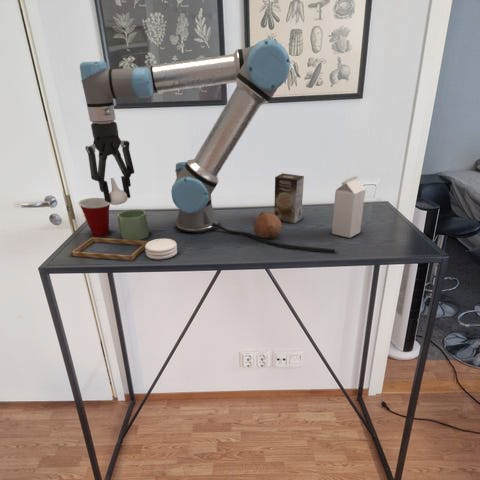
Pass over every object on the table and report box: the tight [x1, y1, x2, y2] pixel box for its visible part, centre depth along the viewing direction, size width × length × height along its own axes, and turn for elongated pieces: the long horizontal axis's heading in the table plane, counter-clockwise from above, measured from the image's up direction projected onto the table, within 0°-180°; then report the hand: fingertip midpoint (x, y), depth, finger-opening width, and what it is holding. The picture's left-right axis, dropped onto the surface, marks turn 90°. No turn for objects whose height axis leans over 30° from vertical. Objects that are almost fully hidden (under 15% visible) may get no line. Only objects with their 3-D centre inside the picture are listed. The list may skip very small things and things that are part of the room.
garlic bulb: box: [109, 177, 129, 206], centre depth 136 cm, size 6×6×8 cm
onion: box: [253, 211, 283, 241], centre depth 142 cm, size 10×9×10 cm
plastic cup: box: [78, 197, 111, 238], centre depth 150 cm, size 11×11×12 cm
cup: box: [117, 209, 150, 241], centre depth 148 cm, size 10×10×8 cm
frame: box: [70, 237, 149, 261], centre depth 139 cm, size 21×13×1 cm, turn 76°
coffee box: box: [273, 172, 305, 224], centre depth 157 cm, size 9×6×16 cm
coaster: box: [144, 238, 178, 261], centre depth 135 cm, size 10×10×4 cm
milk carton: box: [331, 174, 366, 239], centre depth 141 cm, size 7×7×19 cm
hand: (117, 199), depth 138 cm, fingers closed on garlic bulb, 6 cm apart
